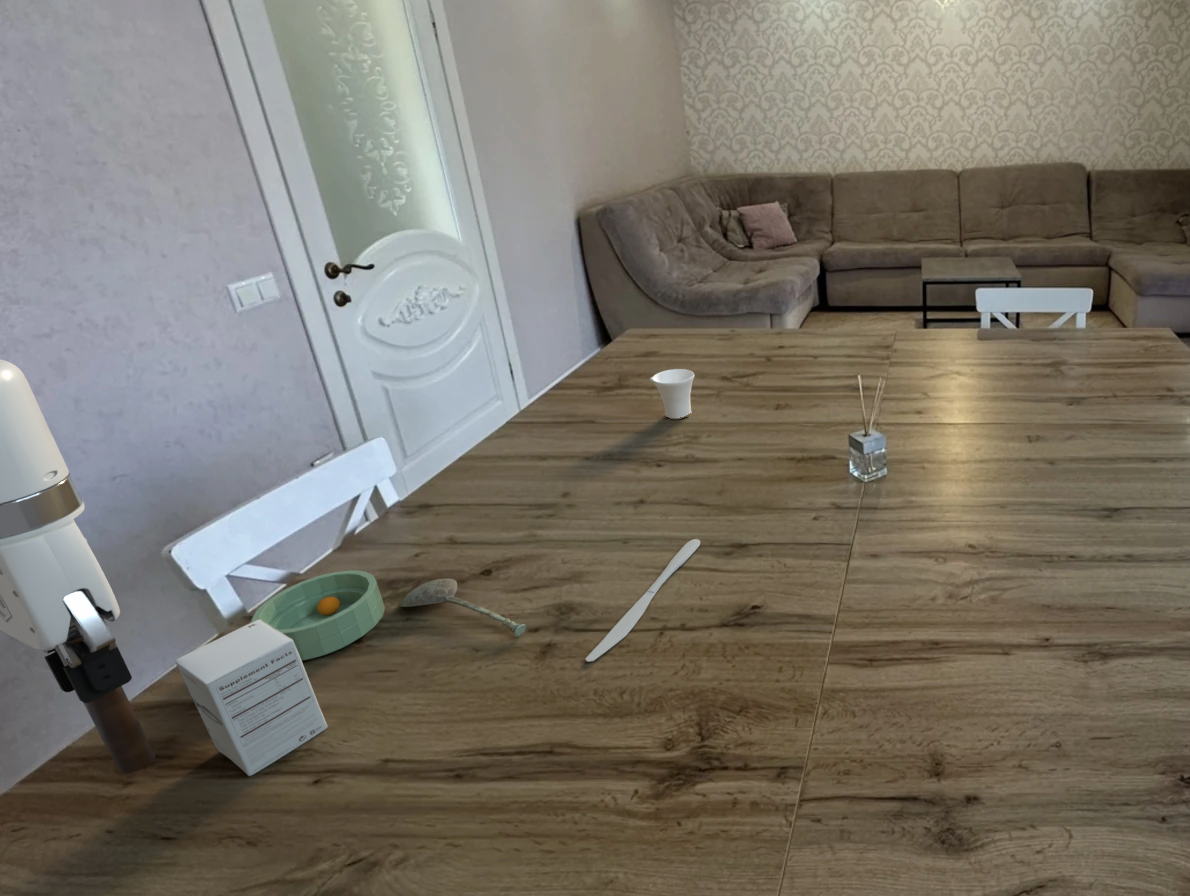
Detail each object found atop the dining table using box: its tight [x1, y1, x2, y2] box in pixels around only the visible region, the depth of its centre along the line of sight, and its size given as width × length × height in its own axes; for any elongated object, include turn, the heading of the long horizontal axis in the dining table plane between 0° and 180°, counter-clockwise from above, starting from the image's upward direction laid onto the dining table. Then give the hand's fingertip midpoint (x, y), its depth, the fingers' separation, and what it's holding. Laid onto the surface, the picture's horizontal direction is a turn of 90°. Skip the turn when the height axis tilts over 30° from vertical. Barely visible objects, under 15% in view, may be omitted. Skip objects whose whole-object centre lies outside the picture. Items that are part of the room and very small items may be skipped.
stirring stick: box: [55, 636, 156, 775], centre depth 65 cm, size 2×2×15 cm
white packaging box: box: [174, 620, 328, 777], centre depth 76 cm, size 7×7×13 cm
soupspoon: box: [399, 578, 528, 638], centre depth 97 cm, size 22×3×7 cm
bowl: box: [250, 569, 386, 662], centre depth 94 cm, size 13×13×5 cm
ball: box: [317, 597, 340, 615], centre depth 96 cm, size 2×2×2 cm
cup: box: [649, 368, 695, 418], centre depth 158 cm, size 9×9×10 cm
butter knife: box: [585, 538, 701, 663], centre depth 101 cm, size 1×27×3 cm
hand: (97, 684), depth 64 cm, fingers closed on stirring stick, 2 cm apart
